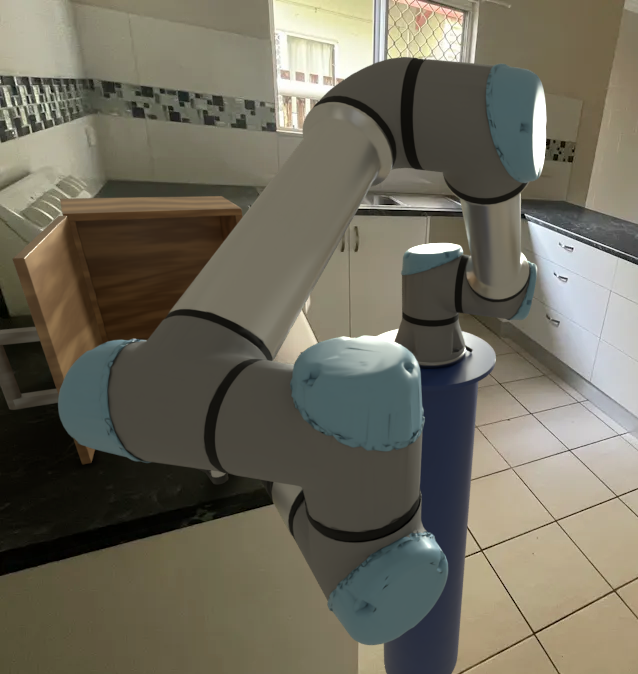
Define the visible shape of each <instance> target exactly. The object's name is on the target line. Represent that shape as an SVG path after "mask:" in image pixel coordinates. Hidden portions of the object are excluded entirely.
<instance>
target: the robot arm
mask: <svg viewBox="0 0 638 674" xmlns="http://www.w3.org/2000/svg"><path fill="white" fill-rule="evenodd" d="M546 126H547V106H546V96H545V91H544V86H543V83H542V81H541V79H540V77H539V75H537V74H536V73H535V72H534V71H532V70H530V69H528V68H523V67H522V68H521V67H515V66H510V65H508V64H506V63H497V64H486V63H476V62H463V61H454V60H453V61H452V60H441V59H431V58H427V59H425V58H418V57H409V56H400V57H393V58H392V57H391V58H388V59H383V60H379V61H377V62H374V63H372V64H370V65H367V66H365V67H362V68H361V69H359V70H357V71H356V72H355V71H354V73H352V74H350V75H349V76H347V77H345V78H344V79H343V80H342V81H341V80H340V82H338V83H337V84H336V85H334V86H333V87H332V88H330V89H329V90H328V91H326V93H325V94H324V95H323V96H322V97H321V98H320V99H318V101H317V102H315V104H314V105H313V107H312V108H311V110H309V111H308V113H307V114H306V116H305V117H304V121H303V124H302V140H301V141H300V142H299V144H298V145H297V146H296V148H295V149H294V150H293V151H292V153H290V155H289V157H288V158H287V159H286V161H284V163H283V164H282V165H281V167H280V168H279V169H278V171H277V172H276V173H275V175H274V176H273V177H272V178H271V180H270V181H269V182H268V184H267V185H266V186H265V188H264V189H263V190H262V191H261V193H260V194H259V195H258V196H257V198H256V199H255V201H254V202H253V203H252V204H251V206H250V207H249V208H248V210H247V211H246V212H245V214H244V215H242V216H243V217H242V219H241V220H240V221H239V223H238V224H237V225H236V226H235V228H234V229H233V230H232V232H231V233H230V234H229V235H228V237H227V238H226V239H225V241H224V242H223V243H222V245H221V246H220V247H219V248H218V250H217V251H216V252H215V254H214V255H213V256H212V257H211V259H210V260H209V261H208V263H207V264H206V265H205V266H204V268H203V269H202V270H201V272H200V273H199V274H198V276H197V277H196V278H195V279H194V281H193V282H192V283H191V285H190V286H189V287H188V288H187V290H186V291H185V292H184V294H183V295H182V296H181V297H180V299H179V300H178V301H177V303H176V304H175V305H174V307H173V308H172V309H171V310H170V312H169V313H168V315H167V316H166V318H165V319H164V320H163V321H162V322H161V323H160V325H159V326H158V327H157V328H156V330H155V331H154V332H153V334H152V335H151V336H150V337H149V339H148V340H147V341H146V340H140V339H130V340H114V341H108V342H106V343H104V344H102V345H99V346H98V347H96V348H94V349H92V350H89V351H87V352H85V353H84V354H83V355H82V356H80V357H79V358H78V359H77V360H76V361H75V362H74V364H73V365H72V366H71V367H70V369H69V371H68V372H67V374H66V376H65V378H64V381H63V383H62V386H61V388H60V392H59V398H58V403H57V408H58V416H59V419H60V420H59V421H60V422H61V424H62V426H63V428H64V430H65V431H66V432H67V434H68V435H69V436H70V437H71V438H72V439H73V438H75V440H76V441H77V442H78V444H80V445H83V446H86V447H89V448H92V449H95V451H100V452H104V453H108V454H113V455H117V456H119V457H125V458H127V459H129V460H131V461H133V462H142V463H145V464H150V463H156V464H163V465H171V466H178V467H185V468H191V469H195V470H198V471H199V472H201V473H204V474H205V475H206V476H207V477H208V478H209V480H210V481H211V482H212V484H213V485H222V484H224V483H226V482H227V481H229V475H233V476H238V477H242V478H250V479H254V480H260V482H261V484H262V486H263V487H264V490H265V491H266V493H267V494H268V496H269V497H270V500H271V502H272V503H273V505H274V507H275V509H276V510H277V512H278V514H279V516H280V518H281V519H282V521H283V523H284V525H285V527H286V528H287V530H288V532H289V534H290V535H291V537H292V538H293V540H294V542H295V543H296V545H297V547H298V549H299V550H300V552H301V554H302V556H303V558H304V560H305V562H306V563H307V566H308V567H309V569H310V571H311V573H312V574H313V577H314V579H315V580H316V582H317V584H318V586H319V587H320V590H321V591H322V593H323V595H324V597H325V599H326V600H327V603H326V604H327V608H328V610H329V611H330V612H332V613H333V614H334V615H335V617H336V618H337V619H338V621H339V623H340V624H341V625H342V627H343V628H344V629H345V631H346V633H347V634H348V635H349V636H350V638H351V639H352V640H354V641H355V642H357V643H359V644H362V645H365V646H379V645H384V643H387V642H389V641H392V640H394V639H396V638H398V637H400V636H401V635H402V634H404V633H405V632H406V631H408V630H410V629H411V628H413V627H414V626H416V625H417V624H418V623H419V622H420V621H421V620H422V619H423V618H424V617H425V616H426V615H427V614H428V613H429V611H430V610H431V609H432V608H433V606H434V605H435V603H436V602H437V600H438V599H439V597H440V595H441V593H442V591H443V589H444V587H445V584H446V581H447V576H448V562H447V559H446V556H445V554H444V553H443V551H442V550H441V548H440V547H439V545H438V544H437V542H436V541H435V537H434V536H433V535H432V534H431V533H428V531H426V530H425V529H424V527H423V525H422V522H421V502H422V496H421V491H420V473H421V451H422V430H423V427H424V422H425V417H424V416H423V412H424V410H423V407H422V392H421V372H420V368H421V369H440V368H446V367H450V366H453V365H455V364H458V363H459V362H461V361H462V360H463V359H464V357H465V350H467V351H469V352H472V351H473V349H471V348H469V347H468V346H466V345H465V342H464V338H463V335H462V331H463V330H462V327H461V325H460V320H459V319H460V314H466V315H474V316H481V317H489V318H495V319H496V318H497V319H503V320H506V321H524V320H526V319H527V317H529V314H530V311H531V308H532V303H533V300H534V299H533V298H534V295H535V290H536V285H537V278H538V266H537V264H536V263H534V262H531V261H529V260H528V259H527V258H526V256H525V254H524V253H523V252H522V243H521V242H522V221H521V219H522V217H521V215H522V213H521V212H522V211H521V210H522V208H521V207H522V206H521V205H522V199H521V198H522V197H521V196H522V195H521V193H523V192H524V190H525V189H526V188H527V187H528V185H529V183H530V182H534V181H536V180H538V179H539V178H540V176H541V175H542V172H543V167H544V163H545V155H546V144H547V143H546V142H547V129H546ZM397 169H413V170H417V171H428V172H436V173H442V177H443V179H444V183H445V185H446V186H447V188H448V190H449V191H450V192H451V194H453V195H454V196H455V197H456V198H458V199H459V202H460V206H461V212H462V218H463V223H464V227H465V233H466V237H467V238H466V239H467V242H468V248H469V252H470V255H469V254H464V250H463V247H462V246H461V245H460V244H455V243H449V242H437V243H434V242H433V243H426V244H419V245H416V246H413V247H411V248H409V249H407V250H406V251H405V252H404V254H403V255H402V265H401V267H402V268H401V271H400V274H401V321H400V323H399V327H398V328H397V329H398V332H397V335H396V338H395V340H394V341H391V340H388V339H384V338H380V337H376V336H373V335H361V336H357V337H348V336H337V337H333V338H329V339H326V340H322V341H319V342H317V343H315V344H313V345H310V346H309V347H307V348H306V349H305V350H304V351H301V352H300V354H299V355H298V357H297V358H296V359H295V361H294V363H288V362H282V361H274V360H275V359H276V357H277V355H278V353H279V351H280V350H281V348H282V347H283V344H284V343H285V341H286V339H287V337H288V335H289V334H290V332H291V331H292V329H293V326H294V325H295V323H296V321H297V320H298V318H299V316H300V314H301V312H302V310H303V308H304V307H305V305H306V303H307V301H308V300H309V297H310V296H311V295H312V292H313V291H314V289H315V287H316V285H317V283H318V282H319V280H320V278H321V276H322V274H323V273H324V271H325V270H326V268H327V266H328V264H329V262H330V260H331V259H332V257H333V255H334V253H335V251H336V249H337V247H338V246H339V244H340V242H341V241H342V239H343V237H344V235H345V234H346V232H347V230H348V228H349V226H350V224H351V223H352V220H353V219H354V218H355V215H356V213H357V212H358V210H359V209H360V207H361V205H362V203H363V201H364V199H365V197H366V196H367V194H368V192H369V190H370V188H372V187H375V186H378V185H380V184H381V183H383V182H384V181H385V180H386V179H387V178H388V176H389V174H390V173H391V171H392V170H397Z"/></svg>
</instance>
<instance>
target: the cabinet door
mask: <svg viewBox="0 0 638 674" xmlns="http://www.w3.org/2000/svg"><path fill="white" fill-rule="evenodd" d="M12 262H13V266H14V267H15V271H16V274H17V277H18V280H19V283H20V285H21V288H22V292H23V294H24V297H25V300H26V304H27V307H28V309H29V312H30V315H31V318H32V322H33V325H34V326H28V327H17V328H9V329H7V328H5V329H0V389H1V392H2V394H3V396H4V398H5V402H6V404H7V406H8V410H11V411H17V410H22V409H29V408H34V407H39V406H41V407H42V406H47V405H53V404H58V398H59V392H60V388H61V386H62V383H63V381H64V378H65V376H66V374H67V372H68V371H69V369H70V367H71V366H72V365H73V364H74V362H75V361H76V360H77V359H78V358H79V357H80V356H82V355H83V354H84V353H85V352H87V351H89V350H92V349H94V348H96V347H98V346H99V345H102V344H103V342H102V338H101V335H100V331H99V327H98V324H97V320H96V317H95V313H94V310H93V306H92V303H91V299H90V295H89V292H88V288H87V285H86V281H85V278H84V274H83V271H82V267H81V263H80V260H79V256H78V253H77V249H76V246H75V242H74V239H73V235H72V231H71V228H70V224H69V221H68V217H67V216H63V215H57V217H56V218H54V220H52V221H51V222H50V223H49V224H48V225H47V226H46V227H45V228H44V229H42V231H40V233H38V234H37V235H36V236H35V237H34V238H33V239H32V240H30V242H29V243H28V244H26V245H25V246H24V248H22V249H21V250H20V251H19V252H18V253H17V254H15V256H14V257H13V258H12ZM35 342H36V343H37V342H40V345H41V347H42V351H43V354H44V356H45V360H46V362H47V365H48V368H49V371H50V374H51V377H52V380H53V383H54V385H55V388H51V389H45V390H37V391H31V392H30V391H29V392H24V393H21V390H20V388H19V384H18V382H17V380H16V377H15V374H14V371H13V369H12V366H11V363H10V360H9V358H8V355H7V352H6V350H5V347H4V346H6V345H7V346H8V345H16V344H17V345H18V344H25V343H35ZM72 439H73V442H74V445H75V448H76V450H77V454H78V456H79V459H80V462H81V465H83V466H84V465H88V464H92V463H93V462H92V461H93V459H94V454H95V451H96V449H92V448H89V447H86V446H83V445H80V444H78V442H77V441H76V440H75V438H73V437H72Z"/></svg>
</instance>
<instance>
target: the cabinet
mask: <svg viewBox="0 0 638 674" xmlns="http://www.w3.org/2000/svg"><path fill="white" fill-rule="evenodd" d="M59 202H60V207H61V208H60V209H61V213H62V216H67V217H68V221H69V224H70V228H71V231H72V235H73V239H74V242H75V246H76V249H77V253H78V256H79V260H80V263H81V267H82V271H83V274H84V278H85V281H86V285H87V288H88V292H89V295H90V299H91V303H92V306H93V310H94V313H95V317H96V320H97V324H98V327H99V331H100V335H101V338H102V342H103V344H104V343H106V342H108V341H114V340H130V339H140V340H146V341H147V340H148V339H149V337H150V336H151V335H152V334H153V332H154V331H155V330H156V328H157V327H158V326H159V325H160V323H161V322H162V321H163V320H164V319H165V318H166V316H167V315H168V313H169V312H170V310H171V309H172V308H173V307H174V305H175V304H176V303H177V301H178V300H179V299H180V297H181V296H182V295H183V294H184V292H185V291H186V290H187V288H188V287H189V286H190V285H191V283H192V282H193V281H194V279H195V278H196V277H197V276H198V274H199V273H200V272H201V270H202V269H203V268H204V266H205V265H206V264H207V263H208V261H209V260H210V259H211V257H212V256H213V255H214V254H215V252H216V251H217V250H218V248H219V247H220V246H221V245H222V243H223V242H224V241H225V239H226V238H227V237H228V235H229V234H230V233H231V232H232V230H233V229H234V228H235V226H236V225H237V224H238V223H239V221H240V220H241V219H242V217H243V216H244V215H243V209H242V208H241V207H240V206H238V205H237V204H235V203H233V202H232V201H231V200H229V199H228V198H226V197H224V196H222V195H220V196H219V195H215V196H211V195H210V196H208V195H207V196H149V197H148V196H147V197H146V196H143V197H141V196H139V197H137V196H136V197H81V198H80V197H78V198H75V197H73V198H72V197H71V198H69V197H68V198H66V197H65V198H59Z"/></svg>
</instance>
